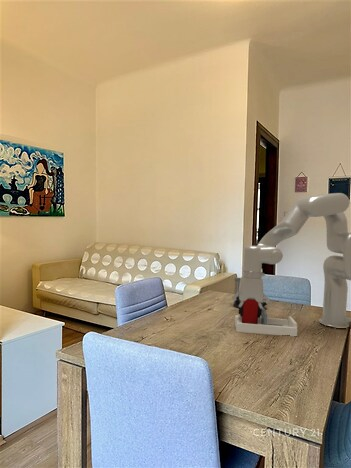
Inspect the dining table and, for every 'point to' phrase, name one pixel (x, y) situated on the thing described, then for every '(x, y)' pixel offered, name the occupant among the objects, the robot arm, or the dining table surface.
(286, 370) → the dining table surface
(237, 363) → the dining table surface
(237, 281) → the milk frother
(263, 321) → the pusher
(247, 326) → the white tray
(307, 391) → the dining table surface
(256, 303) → the beverage can
